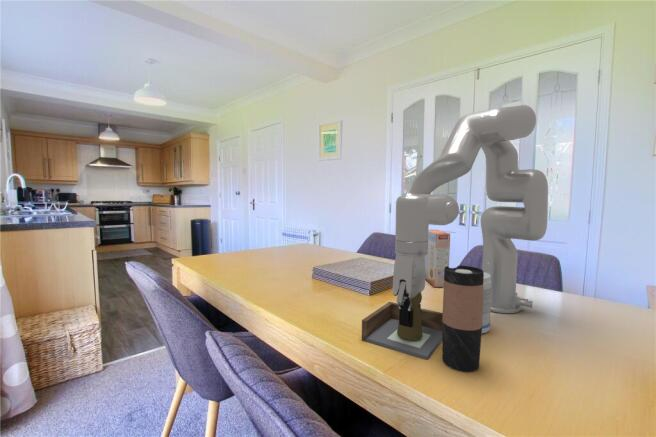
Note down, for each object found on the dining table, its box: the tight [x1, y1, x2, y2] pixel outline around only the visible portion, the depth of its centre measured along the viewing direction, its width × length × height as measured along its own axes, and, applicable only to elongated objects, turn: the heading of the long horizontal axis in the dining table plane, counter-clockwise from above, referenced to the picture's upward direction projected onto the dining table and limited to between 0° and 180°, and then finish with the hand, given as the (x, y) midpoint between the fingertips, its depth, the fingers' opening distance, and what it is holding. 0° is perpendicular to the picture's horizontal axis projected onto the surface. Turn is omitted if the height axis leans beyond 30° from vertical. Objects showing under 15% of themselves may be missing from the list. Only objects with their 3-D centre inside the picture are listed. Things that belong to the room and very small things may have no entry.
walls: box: [361, 301, 443, 341], centre depth 78 cm, size 16×16×5 cm
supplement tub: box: [482, 272, 492, 334], centre depth 83 cm, size 10×10×15 cm
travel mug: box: [441, 265, 484, 373], centre depth 66 cm, size 8×8×20 cm
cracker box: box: [425, 229, 451, 288], centre depth 125 cm, size 14×6×21 cm, turn 179°
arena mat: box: [361, 319, 442, 361], centre depth 78 cm, size 16×16×1 cm
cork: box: [397, 292, 423, 340], centre depth 76 cm, size 6×6×11 cm
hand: (409, 321), depth 76 cm, fingers open, 4 cm apart
